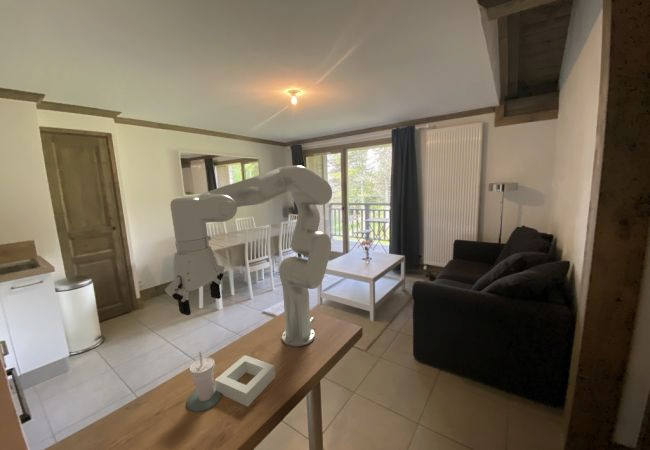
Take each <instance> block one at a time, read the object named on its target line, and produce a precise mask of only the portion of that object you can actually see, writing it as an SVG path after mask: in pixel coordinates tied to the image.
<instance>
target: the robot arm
mask: <svg viewBox="0 0 650 450" xmlns="http://www.w3.org/2000/svg"><path fill="white" fill-rule="evenodd" d="M286 193H291V198H292V201H294V203H295V206H296V208H297V220H296V224H295V227H294V230H293V234H292V238H291V242H290V247H291V250H292V251H293V252H294V253H295V254H298V255H302V256H307V258H306V259H305V258H302V257H297V256H289V257H286V258H284V259H283V260H282V261H281V262H280V264H279V268H278V273H279V279H280V282H281V287H282V294H283V309H284V310H283V311H284V324H285V325H284V327H285V328H284V329H285V330H284V331H283V332H282V333H281V334H282V335H281V340H282V342H283V343H284V344H285V345H287V346H290V347H303V346H306V345H308V344H310V343H311V342H312V341H314V339H315V338H316V336H315V334H316V333H315V330H314V329H313V328H312V325H313V323H314V322H315V321H316V319H315V317H314V316H312V317H311V311H310V293H309V290H314V289H317V288H319V287H320V286H321V284H322V282H323V279H325V278H324V277H325V274H326V270H327V267H328V262H329V259H330V256H331V251H332V241H331V237H330V236H329V235H328V233H326V232H324V231H321V230H320V231H319V228H320V227H319V226H320V222H321V215H320V211H319V209H318V207H317V205H318V206H323V205H326V204H328V203H329V202H330V201H331V200H332V197H333V188H332V187H331V185H330V183H329V182H328V181H327V180H325V179H324V178H323V177H321V176H320V175H318V174H316V173H315V172H314V171H312V170H311V169H309V168H307V167H305V166H303V165H299V164H298V165H297V164H296V165H285V166H280V167H277V168H274V169H272V170H269V171H266V172H264V173H260V174H258V175H255V176H253V177H249V178H246V179H244V180H239V181H237V182H234V183H230V184H227V185H224V186H220V187H218V188H215V189H212V190H208V191H206V192H204V193H202V194H200V195H198V196H185V197H183V196H182V197H177V198H176V197H175V198H174V199H172V200H171V201H170V204H169V206H170V212H171V218H172V225H173V231H174V238H175V244H176V250H177V251H176V252H175V253H174V255H173V280H172V281H171V282H170V283H169V284H168V285H167V286H166V287H165V289H164V291H165V293H166V294H167V295H168V296H169V297H170V298H171V299H174V300H176V301H177V302H178V303H177V305H178V308H179V309H178V310H179V313H180V314H182V315H184V316H189V315H191V314H192V311H191V306H190V301H189V299H188V297H189V295H190V292H193V291H195V290H197V289H200V288H201V287H204V286H206V285H209V290H210V296H211V298H213V299H216V300H220V299H221V298H222V296H221V287H220V285H221V284H222V280H223V278H224V272H225V268H226V267H225V266H223V265H220V264H219V265H218V264H217V263H216V259H215V254H214V252H213V249H212V246H210V243H209V242H210V241H211V239H212V237H211V236H210V235H209V234H208V229H207V228H208V227H207V223H223V222H224V223H225V222H228V221H230V220H232V219H233V218H234V217H235V215H236V214H237V211H238V208H240V207H249V206H256V205H261V204H265V203H266V202H268V201H271V200H273V199H275V198H278V197H279V196H281V195H283V194H286ZM176 290H178V291H177V292H176Z"/></svg>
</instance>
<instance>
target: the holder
mask: <svg viewBox="0 0 650 450" xmlns="http://www.w3.org/2000/svg"><path fill="white" fill-rule="evenodd" d="M275 368H276V367H275V365H274V364H271V363H269V362H266V361H262V360H259V359H257V358H254V357H252V356H249V355H246V354H244V355H243V356H242V357H240V358H239V359H238V360H237V361H235V362H234V363H233V364H231V366H229V367H228V368H227V369H226V370H225V371H223V372H222V373H221V374H220V375H219V376H217V377H216V378H215V379H214V385H215V387H216V390H217V391H219V392H221V393H222V396H223V397H226V398H228V399H230V400H232V401H234V402H237V403H239V404H241V405H243V406H245V407H247V408H248V407H249V406H250V405H251V404H252V403H253V402H254V401H255V400H256V398H258V396H259V395H260V394H261V393H262V392H263V391H264V390H265V389H266V388H267V387H268V385H270V383H271V382H272V381H273V380H274V379H275V378H276V369H275ZM246 373H247V374H249V375H252V376H253V378H252V379H250V381H249V382H248V383H246V384H244V383H243V382H239V379H241V378H242V377H243V376H244V375H245V374H246Z"/></svg>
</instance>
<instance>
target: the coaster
mask: <svg viewBox="0 0 650 450" xmlns="http://www.w3.org/2000/svg"><path fill="white" fill-rule="evenodd" d="M222 396H223V395H222V393H221V392H219V391H217V390H216V387H215V383H213V395H212V397H211V398H210V399H208V400H206V401H200V400H199V398H198V394H197V391H196V389H195V390H193V392H192V393H191V394H189V396H188V397H187V400H186V406H187V409H188V411H191V412H193V413H201V412H206V411H208V410H210V409H211V408H213V407H215V406H216V404H218V403H219V402H220V400H221V399H222Z"/></svg>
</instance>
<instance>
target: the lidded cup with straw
mask: <svg viewBox="0 0 650 450" xmlns="http://www.w3.org/2000/svg"><path fill="white" fill-rule="evenodd" d="M198 354H199V359H197V360H195V361H194V362H193V363H192V364H190V367H189V374H190V375H191V377H192V379H193V380H192V381H193V383H194V386H195V390H196V391H197V394H198V398H199V400H200V401H206V400H208V399H210V398H211V397H212V395H213V384H214V378H215V377H214V376H215V375H214V372H215V370H214V368H215V366H216V362H215V360H214V358H212V357H202V356H203V355H202V351H201V350H199V351H198Z"/></svg>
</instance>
